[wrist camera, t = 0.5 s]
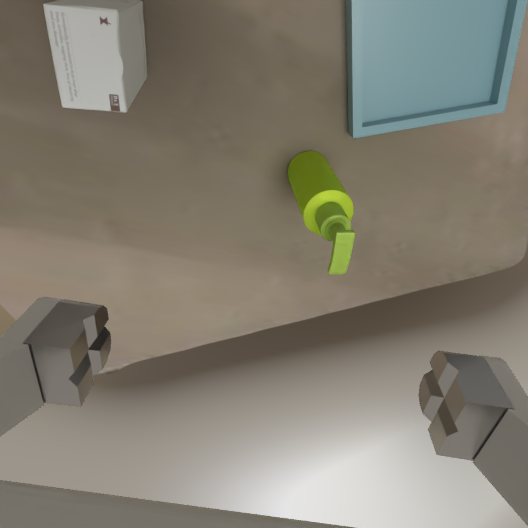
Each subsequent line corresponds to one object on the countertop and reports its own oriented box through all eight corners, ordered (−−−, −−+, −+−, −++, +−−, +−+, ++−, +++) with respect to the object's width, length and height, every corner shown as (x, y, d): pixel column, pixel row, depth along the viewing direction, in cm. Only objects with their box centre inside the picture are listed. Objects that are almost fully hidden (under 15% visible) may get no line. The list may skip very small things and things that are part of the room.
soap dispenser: (285, 196, 58) (310, 277, 41) (289, 150, 54) (319, 219, 38) (323, 196, 58) (364, 276, 42) (331, 151, 54) (378, 219, 38)
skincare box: (88, -7, 42) (35, -6, 30) (146, 0, 43) (117, 4, 31) (98, 78, 47) (56, 108, 35) (150, 83, 47) (127, 114, 35)
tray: (344, -55, 42) (351, -57, 40) (530, -88, 41) (546, -92, 39) (348, 132, 53) (353, 138, 51) (493, 107, 53) (504, 112, 51)
